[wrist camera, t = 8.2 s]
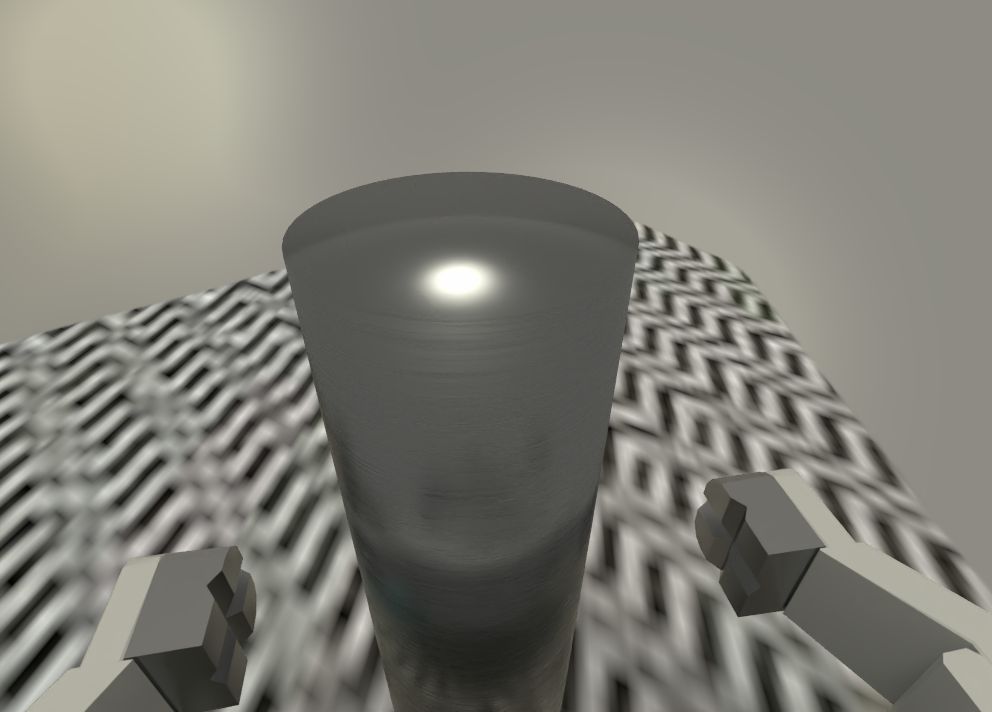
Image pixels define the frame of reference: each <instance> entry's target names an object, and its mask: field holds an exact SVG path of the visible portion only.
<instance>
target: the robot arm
mask: <svg viewBox="0 0 992 712" xmlns="http://www.w3.org/2000/svg"><path fill="white" fill-rule="evenodd" d="M704 495H705V496H706V498H707V500H708V501H707V502H706V503H704V504H703V505H702V506H701V507H700V508H699V509H698V511H697V515H696V519H695V529H696V537H697V540H698V543H699V546H700V548H701V550H702V552H703V554H704V556H705V558H706V560H707V561H709V562H710V563H712V564H713V565H714V566H716V567H717V568H719V569H720V570H721V572H720V578H719V584H720V585H721V587H722V589H723V591H724V593H725V594H726V596H727V598H728V600H729V602H730V604H731V605H732V607H733V609H734V611H735V613H736V614H737V616H738V617H743V616H750V615H757V614H764V613H771V612H778V611H784V612H783V614H784V615H786V616H787V617H788V618H789V619H790V620H792V621H793V622H794V623H795V624H796V625H798V626H799V627H800V628H801V629H802V630H804V631H805V632H806V633H807V634H809V635H810V636H811V637H812V638H813V639H815V640H816V641H817V642H818V643H819V644H821V645H822V646H823V647H824V648H825V649H827V650H828V651H829V652H830V653H831V654H833V655H834V656H835V657H836V658H837V659H839V660H840V661H841V662H842V663H843V664H845V665H846V666H847V667H848V668H849V669H851V670H852V671H853V672H854V673H856V674H857V675H858V676H859V677H860V678H862V679H863V680H864V681H865V682H866V683H868V684H869V685H870V686H871V687H872V688H874V689H875V690H876V691H877V692H878V693H880V694H881V695H882V696H883V697H884V698H886V699H887V700H888V701H889V702H890V703H892V704H893V706H892V707H891V708H890V709H889V710H888V711H887V712H992V614H990V613H989V612H987V611H985V610H983V609H982V608H980V607H978V606H976V605H975V604H973V603H971V602H969V601H967V600H966V599H964V598H962V597H960V596H959V595H957V594H955V593H953V592H952V591H950V590H948V589H946V588H945V587H943V586H941V585H939V584H937V583H936V582H934V581H932V580H930V579H929V578H927V577H925V576H923V575H922V574H920V573H918V572H916V571H915V570H913V569H911V568H909V567H907V566H906V565H904V564H902V563H900V562H899V561H897V560H895V559H893V558H892V557H890V556H888V555H886V554H885V553H883V552H881V551H879V550H877V549H876V548H874V547H872V546H870V545H869V544H867V543H865V542H857V543H856V542H855V541H854V540H853V539H852V537H851V536H850V535H849V534H848V532H847V531H846V530H845V529H844V528H843V526H842V525H841V524H840V523H839V522H838V520H837V519H836V518H835V517H834V516H833V514H832V513H831V512H830V511H829V509H828V508H827V507H826V506H825V505H824V503H823V502H822V501H821V500H820V499H819V497H818V496H817V495H816V494H815V493H814V491H813V490H812V489H811V488H810V486H809V485H808V484H807V483H806V482H805V480H804V479H803V478H802V477H801V476H800V474H799V473H797V472H796V471H794V470H792V469H781V470H774V471H768V472H756V473H749V474H743V475H736V476H730V477H723V478H717V479H712V480H711V481H709V482H708V483H707V485H706V487H705V490H704ZM242 560H243V557H242V555H241V553H240V551H239V549H238V547H237V546H230V547H221V548H212V549H204V550H195V551H186V552H178V553H169V554H160V555H153V556H145V557H137V558H131V560H130V561H129V562H128V563H127V564H126V565H125V566H124V568H123V569H122V571H121V573H120V575H119V577H118V580H117V582H116V584H115V587H114V589H113V591H112V594H111V596H110V598H109V601H108V603H107V605H106V608H105V610H104V612H103V615H102V617H101V619H100V622H99V624H98V626H97V628H96V631H95V633H94V635H93V638H92V640H91V642H90V645H89V647H88V649H87V652H86V654H85V656H84V659H83V661H82V663H81V666H80V667H78V668H72V669H68V670H67V671H66V672H65V673H64V674H63V675H62V676H61V677H60V678H59V679H58V680H57V681H56V682H55V683H54V684H53V685H52V686H51V687H50V688H49V689H48V690H47V691H46V692H45V693H44V694H42V695H41V696H40V697H39V698H38V699H37V700H36V701H35V702H34V703H33V704H32V705H31V706H30V707H29V708H28V709H27V710H26V711H25V712H206V711H211V710H216V709H221V708H226V707H231V706H235V705H239V701H240V696H241V691H242V686H243V681H244V676H245V671H246V666H247V661H248V660H247V658H246V656H245V654H244V652H243V650H242V649H241V646H242V645H243V644H244V642H245V641H246V640H247V639H248V637H249V636H250V635H251V634H252V633H253V629H254V623H255V618H256V590H255V585H254V582H253V579H252V577H251V575H250V574H249V573H247V572H245V571H243V570H241V564H242Z"/></svg>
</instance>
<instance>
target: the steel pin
mask: <svg viewBox="0 0 992 712" xmlns="http://www.w3.org/2000/svg"><path fill="white" fill-rule="evenodd" d="M638 245H639V238H638V232H637V229H636V227H635V225H634V223H633V222H632V221H631V219H630V218H629V217H628V216H627V215H626V214H625V213H624V212H623V211H622V210H621V209H619V208H618V207H617V206H615V205H614V204H612V203H610V202H609V201H607V200H605V199H603V198H601V197H599V196H597V195H595V194H593V193H591V192H588V191H585V190H583V189H580V188H577V187H574V186H571V185H567V184H564V183H560V182H556V181H551V180H546V179H541V178H536V177H530V176H522V175H515V174H504V173H487V172H449V173H448V172H447V173H432V174H422V175H413V176H406V177H400V178H393V179H388V180H384V181H379V182H374V183H371V184H367V185H363V186H359V187H356V188H353V189H350V190H347V191H344V192H342V193H339V194H337V195H334V196H332V197H329V198H327V199H325V200H323V201H321V202H319V203H317V204H316V205H314V206H313V207H311V208H309V209H308V210H306V211H305V212H304V213H303V214H301V215H300V216H299V217H298V218H296V220H294V222H293V223H292V224H291V225H290V226H289V228H288V230H287V231H286V233H285V235H284V238H283V243H282V250H283V257H284V261H285V265H286V269H287V273H288V278H289V282H290V286H291V290H292V294H293V298H294V302H295V306H296V310H297V314H298V319H299V323H300V327H301V331H302V335H303V339H304V343H305V347H306V351H307V355H308V360H309V364H310V368H311V372H312V376H313V380H314V384H315V388H316V392H317V396H318V401H319V405H320V409H321V413H322V417H323V421H324V425H325V429H326V433H327V437H328V441H329V446H330V450H331V454H332V458H333V462H334V466H335V470H336V474H337V478H338V482H339V487H340V491H341V495H342V499H343V503H344V507H345V511H346V515H347V519H348V523H349V528H350V532H351V536H352V540H353V544H354V548H355V552H356V556H357V560H358V564H359V569H360V573H361V577H362V581H363V585H364V589H365V593H366V597H367V601H368V605H369V610H370V614H371V618H372V622H373V626H374V630H375V634H376V638H377V642H378V646H379V650H380V655H381V659H382V663H383V667H384V671H385V675H386V679H387V683H388V687H389V691H390V696H391V700H392V704H393V708H394V712H561V707H562V701H563V695H564V689H565V683H566V677H567V671H568V665H569V659H570V653H571V647H572V641H573V635H574V629H575V623H576V617H577V611H578V605H579V599H580V593H581V587H582V581H583V575H584V569H585V563H586V557H587V551H588V545H589V539H590V533H591V527H592V521H593V515H594V509H595V503H596V497H597V491H598V485H599V479H600V473H601V467H602V461H603V455H604V449H605V443H606V437H607V431H608V425H609V419H610V413H611V407H612V401H613V395H614V389H615V383H616V377H617V371H618V365H619V359H620V353H621V347H622V341H623V335H624V329H625V323H626V317H627V311H628V305H629V299H630V293H631V287H632V281H633V275H634V269H635V263H636V257H637V251H638Z"/></svg>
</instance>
